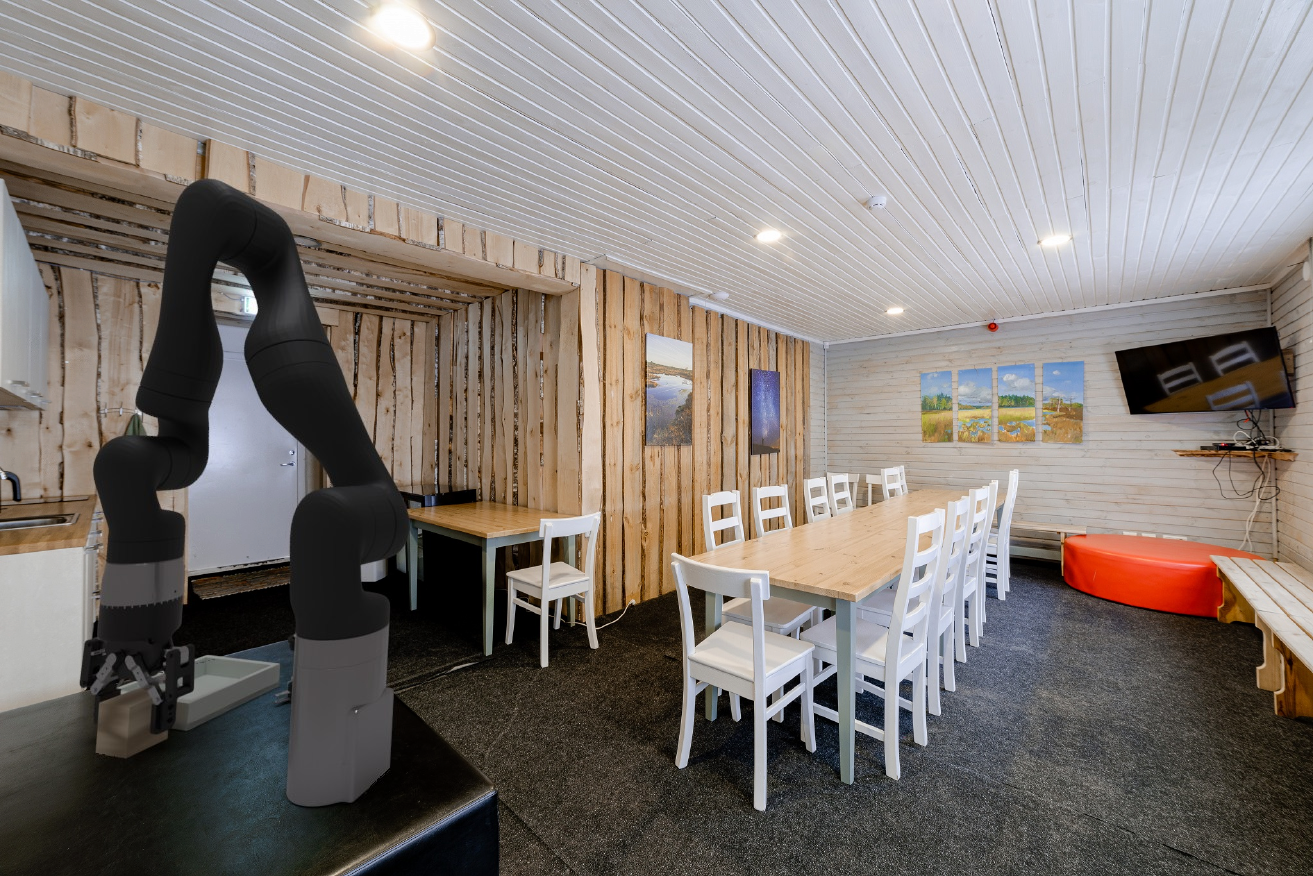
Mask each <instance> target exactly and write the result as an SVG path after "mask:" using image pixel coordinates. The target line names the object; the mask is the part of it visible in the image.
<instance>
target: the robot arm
mask: <svg viewBox="0 0 1313 876" xmlns="http://www.w3.org/2000/svg"><path fill="white" fill-rule="evenodd" d="M173 208H174V209H173V212H172V215H171V218H170V225H169V232H168V239H167V248H166V256H165V263H164V269H163V279H162V280H163V281H162V287H161V288H162V289H161V298H160V307H159V314H158V315H159V316H158V322H157V328H156V331H155V336H154V339H153V343H152V347H151V349H150V350H151V351H150V353H149V356H148V359H147V362H146V364H145V367H144V369H143V373H142V376H141V380H140V382H139V386H138V388H137V391H136V395H135V407H136V408H137V410H139V411H140V412H142V413H143V414H145V415H148V416H150V417H153V418H156V419H157V426H158V429H157V431H158V432H157V435H144V434H143V435H138V434H128V435H120V436H116V437H114V438H112V439H110V440H108V441H106V443H105V444H103V445H102V446H101V448H100V449H99V450H98V452H97V454H96V456H95V458H94V461H93V465H92V466H93V467H92V476H93V481H94V484H95V489H96V491H97V496H98V499H99V501H100V505H101V509H102V513H103V515H104V519H105V521H106V525H107V527H108V529H107V530H108V531H107V532H108V534H107V543H106V544H107V546H106V556H105V559H106V561H105V565H104V571H103V574H102V578H101V583H100V595H99V607H98V620H97V631H96V632H97V637H93V638H90V639H87V640H85V642H84V645H83V651H82V658H81V659H82V660H81V668H80V675H79V687H80V688H81V689H86V688H89V689H90V693H91V695H93V696H94V707H93V724H94V725H96V726H98V715H99V703H100V702H103V701H106V700H108V699H111V698H114V697H116V696H119V695H121V689H119V688H118V687H120V686H122V684H123V683H124V681H125V680H127V679H128V680H130V681H132V682H134V681H137V682H138V684H139V686H140V688H141V689H142V690H147V691H148V693H149V695H150V697H151V699H152V701H153V703H154V704H152V709H151V722H150V733H151V734H155V735H158V734H160V733H162V732H164V731H167V730H168V731H169V730H171V728H172V727H173V725H174V723H175V721H176V708H177V699H178V698H179V697H181V696H184V695H186V694H189V693H191V692H193V690H194V671H195V659H196V648H195V647H196V646H195V645H194V644H193V643H189V644H187V645H183V646H174V645H175V644H174V643H173V635H174V633H175V632H176V631H177V630H178V629H179V628H180V627H181V625H182V623H183V622H182V621H183V620H182V619H183V606H184V595H185V593H184V592H185V591H184V590H185V578H186V577H185V576H186V570H185V561H184V559H185V558H184V555H185V544H186V543H185V542H186V541H185V540H186V529H187V528H186V526H187V525H186V518H185V517H184V515H183V514H182V513H180V512H179V511H175V510H172V509H171V510H170V509H163V508H162V507H161V504H160V502H159V498H158V494H157V493H158V492H163V491H177V490H181V489H186V488H187V487H190V486H192V485H193V484H194V483H196V482H197V481H198V480H199V478H200V477H201V476H202V475H203V474H204V472H205V471H206V468H207V466H208V462H209V456H210V417H209V411H210V408H211V406H212V403H213V400H214V397H215V394H216V391H217V389H218V388H217V387H218V385H219V382H220V379H221V376H222V371H223V367H224V348H223V343H222V339H221V334H220V331H219V328H218V324H217V321H216V316H215V312H214V308H213V299H212V297H213V296H212V286H213V285H212V282H213V277H214V273H215V270H216V267H217V265H218V262H219V263H221V264H224V265H227V266H229V267H231V268H234V269H236V270H237V271H239V272H240V273H241V274H242V275H243V276H244V278H245V279H246V280H247V282H248V284H249V286H250V288H251V290H252V293H253V296H254V299H255V301H256V305H257V306H256V307H257V310H256V311H257V313H256V314H255V317H254V319H253V321H252V323H251V325H250V327H249V330H248V331H247V334H246V337H245V339H244V345H243V356H244V360H245V364H246V367H247V370H248V372H249V373H248V374H249V375H250V378H251V381H252V383H253V386H254V388H255V391H256V394H257V396H258V398H259V400H260V402H261V403H262V405H263V407H264V408H265V410H266V411H267V412H268V413H269V414H270V416H271V417H272V418H273V419H274V420H275V421H276V422H277V423H278V424H279V425H280V426H281V427H282V428H283V429H284V430H285V431H287V432H288V433H289V434H290V435H291V436H292V437H293V438H294V439H295V440H297V441H298V442H299V443H300V444H301V445H302V446H303V447H305V448H306V450H308V452H310V453H311V455H313V456H314V457H315V459H316V460H317V461H318V462H319V464H320V465H321V467H322V468H323V470H324V471H325V473H326V475H327V477H328V479H329V482H330V484H331V485H332V486H331V487H323V488H318V489H315V490H312V491H310V492H309V493H307V494H306V495H305V496H303V498H302V499H301V500H300V501H299V503H298V504H297V505H296V508H295V510H294V513H293V515H292V520H291V525H290V530H289V531H290V535H289V600H290V601H289V602H290V606H291V609H292V612H293V615H294V618H295V632H296V633H294V634H295V650H294V651H293V652H294V653H293V670H292V676H293V683H292V700H291V702H290V704H291V705H290V719H289V721H290V723H289V736H288V737H289V739H288V755H287V756H288V757H287V758H288V759H287V760H288V761H287V775H286V776H287V777H286V791H285V792H286V798H287V800H289V801H290V802H291V803H293V804H295V805H298V806H303V807H322V806H329V805H333V804H337V803H353V802H355V801H356V800H357V799H358V798H360V797H361V796H362V794H364V793H366V791H367V790H369V788H371V787H372V786H373V785H374V784H375V783H376V782H377V779H378V778H380V776H382V775H383V774H384V773H385V772H386V771H387V770H388V769H389V768H390V767H391V752H392V751H391V750H392V749H391V747H392V734H393V733H392V731H393V711H394V709H393V708H394V689H393V688H391V687H387V676H388V673H387V672H388V671H387V670H388V650H389V637H390V636H389V634H390V633H389V632H390V631H389V630H390V618H391V617H390V616H391V604H390V600H389V598H388V597H387V596H385V595H384V594H381V593H378V592H371V591H365V590H364V588H363V583H362V582H363V581H362V566H363V565H366V564H372V563H375V562H379V561H383V560H387V559H389V558H392V557H393V556H395V555H397V554H398V553H400V552H401V551H402V550H403V548H404V547H405V546H406V543H407V541H408V539H409V534H410V526H411V525H410V515H409V511H408V507H407V505H406V503H405V500H404V497H403V496H402V494H401V492H400V490H399V488H398V486H397V484H396V482H395V481H394V479H393V477H392V475H391V474H390V472H389V470H388V468H387V467H386V465H385V463H384V461H383V459H382V458H381V456H380V454H379V452H378V450H377V449H376V447H375V445H374V443H373V441H372V439H371V437H370V434H369V432H368V430H367V428H366V426H365V424H364V421H363V419H362V416H361V414H360V412H359V409H358V408H357V406H356V403H355V401H354V399H353V397H352V395H351V392H350V390H349V387H348V385H347V381H346V379H345V376H344V373H343V370H342V367H341V366H340V363H339V361H338V358H337V355H336V353H335V351H334V349H333V347H332V346H333V345H332V344H331V342H330V339H329V338H328V335H327V333H326V330H325V329H324V327H323V324H322V321H321V319H320V316H319V313H318V311H317V308H316V305H315V303H314V300H313V298H312V296H311V293H310V289H309V287H308V283H307V280H306V277H305V273H304V272H305V271H304V270H303V264H302V261H301V258H300V254H299V250H298V246H297V243H296V240H295V237H294V235H293V232H292V230H291V228H290V226H289V224H288V222H287V221H286V220H285V219H284V217H282V216H281V215H280V214H279V213H277V212H276V211H275V210H274V209H272V208H270V207H268V206H267V205H265V204H264V203H262V202H260V201H259V200H256V199H254V198H253V197H251V196H249V195H248V194H245V193H244V192H242V191H240V190H239V189H237V188H235V187H233V186H232V185H230V184H228V183H225V182H223V181H222V180H219V179H216V178H201V179H198V180H195V181H193V182H190V184H188V185H187V186H186V187H185V188H184V189H183V190H182V192H181V194H180V195H179V196H178V199H177V201H176V203H175V206H174V207H173ZM96 667H99V668H98V669H99V671H98V672H97V673H95V674H94V673H93V672H94V669H95V668H96ZM162 671H164V674H163V675H160V676H157V677H154V678H153V677H152V676H155V675H157V674H158V673H159V672H162ZM181 677H183V680H182V685H181V686H180V685H179V683H178V679H179V678H181ZM116 683H118V684H116ZM162 683H164V684H165V691H164V692H162V690H161V688H160V686H159V684H162ZM390 769H391V768H390ZM384 775H385V774H384ZM384 775H383V776H384ZM383 776H382V777H383ZM380 779H381V778H380ZM375 781H376V782H375ZM374 782H375V783H374ZM373 783H374V784H373ZM372 784H373V785H372ZM371 785H372V786H371ZM370 786H371V787H370Z"/></svg>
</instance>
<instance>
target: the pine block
mask: <svg viewBox="0 0 1313 876" xmlns="http://www.w3.org/2000/svg"><path fill="white" fill-rule="evenodd" d="M164 691H165V690H162V692H164ZM152 704H154V703H153V701H152V699H151V697H150V695H149V693H148V691H147V690H142V689H141V688H138V689H135V690H132V691H130V692H127V693H124V694H122V695H119V696H116V697H114V698H111V699H108V700H106V701H103V702H100V703H99V715H98V725H97V733H96V745H95V754H96V753H99V754H98V755H102V754H105V756H110V757H114V756H115V757H116V758H121V759H127V758H128V759H129V758H130V757H132V756H134V755H136V754H138V753H140V752H142V751H145V750H147V749H148V748H151V747H153V746H155V745H157V744H159V743H161V742H163V741H165V740H167V739H168V738H169V737H168V734H169V730H167V731H164V732H162V733H160V734H158V735H155V734H151V733H150V722H151V709H152Z"/></svg>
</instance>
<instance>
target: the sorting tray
mask: <svg viewBox="0 0 1313 876" xmlns="http://www.w3.org/2000/svg"><path fill="white" fill-rule="evenodd" d="M212 659H215V660H212ZM208 660H210V661H208ZM202 661H206V662H204V663H199V662H202ZM195 663H198V664H195V671H194V690H193V692H191V693H189V694H186V695H184V696H181V697H179V698H178V699H177V708H176V721H175V723H174V725H173V727H172V728H171V729H173V730H179V731H186V732H187V731H190V730H192V729H194V728H196V727H198V726H200V725H203V724H205V723H206V722H209V721H211V720H212V719H214V718H217V717H219V716H221V715H223V714H225V713H227V712H229V711H231V710H233V709H235V708H237V707H239V706H242V705H243V704H246V703H247V702H250V701H252V700H255V699H256V698H259V697H260V696H262V695H264V694H266V693H268V692H270V691H272V690H274V689H276V688H279V687H280V673H281V670H280V669H281V663H277V662H269V661H261V660H253V659H245V658H235V657H228V656H218V655H209V654H207V655H204V656H201V657H198V658H195ZM161 672H163V673H158V674H157V675H155V676H152V677H153V678H154V677H157V676H160V675H163V674H164V671H163V670H161ZM182 680H183V677H181V678H179V679H178V683H179V685H180V686H181V685H182ZM159 686H160V688H161V690H165V684H164V683H162V684H159ZM117 688H119V689H121V695H122V694H124V693H127V692H130V691H132V690H135V689H138V688H140V686H139V684H138V682H137V681H132V682H129V683H127V684H126V683H125V684H124V685H120V686H118V687H117ZM171 729H170V730H171Z"/></svg>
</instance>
